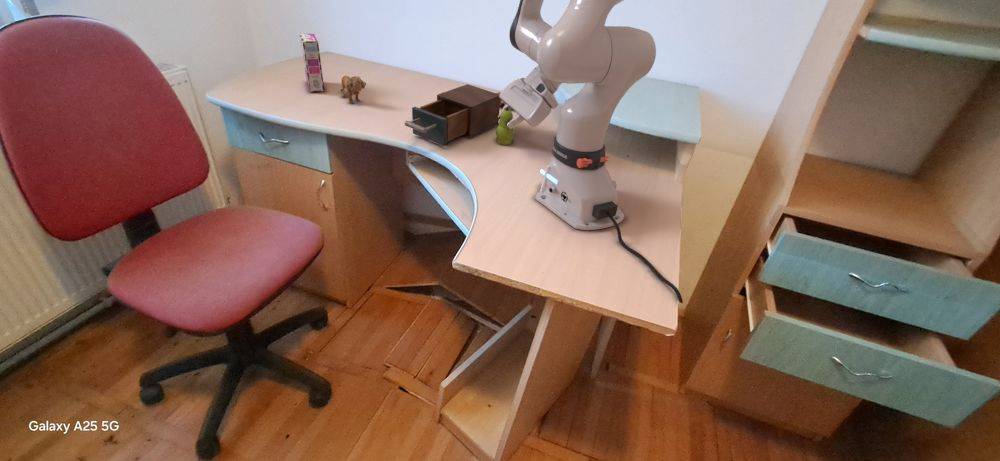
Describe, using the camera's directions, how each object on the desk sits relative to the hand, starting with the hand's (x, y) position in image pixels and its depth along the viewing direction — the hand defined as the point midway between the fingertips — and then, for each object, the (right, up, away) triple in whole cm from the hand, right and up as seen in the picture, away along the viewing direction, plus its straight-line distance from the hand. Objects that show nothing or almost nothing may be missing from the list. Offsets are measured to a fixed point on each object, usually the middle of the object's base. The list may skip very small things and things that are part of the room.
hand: (503, 123), depth 131 cm
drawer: (-19, -3, +1) cm, 20 cm away
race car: (-2, +13, +28) cm, 31 cm away
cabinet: (-11, +2, +11) cm, 16 cm away
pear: (0, -5, +4) cm, 6 cm away
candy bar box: (-65, +19, +27) cm, 73 cm away
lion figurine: (-50, +13, +21) cm, 56 cm away
